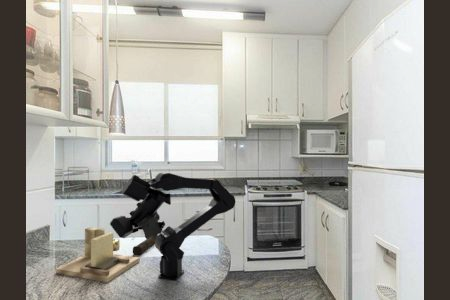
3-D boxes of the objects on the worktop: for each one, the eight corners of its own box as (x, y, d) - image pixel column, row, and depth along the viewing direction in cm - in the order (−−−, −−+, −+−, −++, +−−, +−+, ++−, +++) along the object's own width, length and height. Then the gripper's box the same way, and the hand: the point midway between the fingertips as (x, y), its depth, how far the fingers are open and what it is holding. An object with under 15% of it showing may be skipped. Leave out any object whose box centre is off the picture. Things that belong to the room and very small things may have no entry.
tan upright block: (125, 258, 91) (125, 230, 92) (101, 272, 80) (101, 240, 81) (110, 256, 93) (110, 229, 94) (85, 269, 82) (85, 238, 83)
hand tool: (141, 256, 98) (141, 244, 98) (132, 255, 99) (132, 244, 99) (162, 241, 116) (162, 231, 116) (155, 240, 117) (155, 230, 117)
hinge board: (139, 261, 92) (139, 229, 93) (108, 282, 77) (108, 244, 77) (93, 255, 99) (94, 225, 99) (56, 273, 83) (56, 237, 84)
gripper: (146, 232, 69) (116, 267, 72) (179, 217, 87) (154, 245, 90) (124, 204, 72) (95, 238, 75) (160, 194, 90) (136, 223, 93)
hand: (123, 236), depth 83 cm, fingers closed
